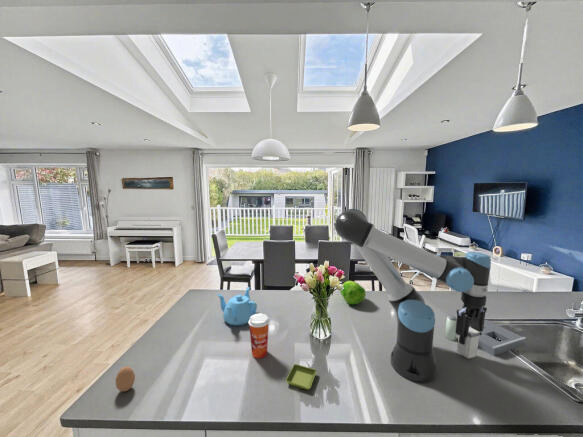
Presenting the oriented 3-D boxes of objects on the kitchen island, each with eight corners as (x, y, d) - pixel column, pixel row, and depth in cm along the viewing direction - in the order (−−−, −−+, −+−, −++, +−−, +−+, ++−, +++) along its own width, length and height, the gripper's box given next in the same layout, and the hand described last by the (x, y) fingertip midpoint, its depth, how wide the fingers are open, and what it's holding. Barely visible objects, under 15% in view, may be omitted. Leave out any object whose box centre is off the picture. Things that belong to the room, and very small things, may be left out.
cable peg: (451, 341, 104) (453, 320, 102) (443, 336, 107) (444, 316, 106) (458, 339, 105) (460, 319, 104) (449, 334, 109) (451, 314, 107)
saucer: (294, 368, 88) (294, 363, 88) (317, 375, 85) (317, 369, 85) (285, 386, 80) (285, 380, 80) (310, 394, 77) (310, 388, 77)
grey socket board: (493, 355, 95) (494, 347, 94) (450, 330, 111) (450, 323, 111) (525, 345, 101) (526, 337, 101) (479, 322, 118) (480, 316, 118)
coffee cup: (250, 362, 91) (249, 325, 89) (248, 348, 99) (247, 314, 97) (271, 358, 93) (271, 322, 91) (268, 345, 101) (267, 311, 99)
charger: (468, 358, 91) (471, 334, 90) (456, 351, 95) (459, 327, 94) (476, 356, 93) (479, 332, 91) (465, 348, 97) (467, 325, 96)
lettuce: (359, 293, 152) (359, 274, 150) (367, 308, 132) (368, 288, 130) (337, 292, 153) (337, 274, 151) (342, 308, 133) (342, 287, 131)
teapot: (216, 316, 124) (215, 293, 123) (249, 306, 135) (249, 285, 133) (227, 332, 110) (226, 307, 109) (263, 320, 120) (263, 297, 119)
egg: (137, 389, 79) (136, 367, 78) (119, 399, 75) (116, 376, 74) (133, 380, 82) (131, 359, 81) (114, 390, 78) (112, 368, 77)
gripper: (467, 300, 85) (460, 361, 88) (500, 294, 90) (492, 351, 93) (447, 291, 92) (441, 348, 95) (479, 286, 97) (472, 339, 100)
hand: (467, 349), depth 94 cm, fingers closed on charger, 4 cm apart
